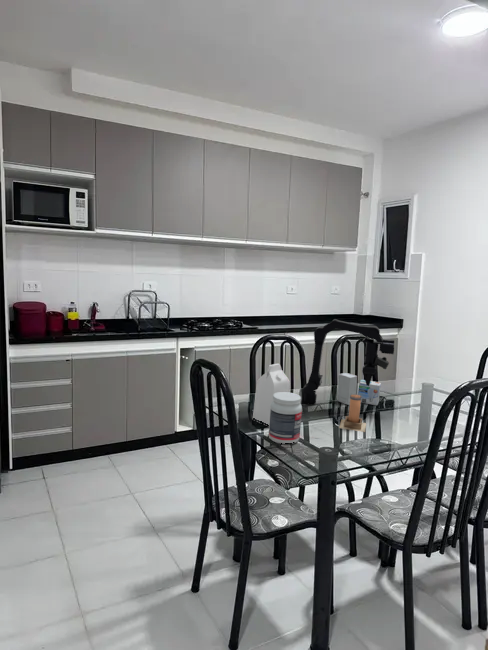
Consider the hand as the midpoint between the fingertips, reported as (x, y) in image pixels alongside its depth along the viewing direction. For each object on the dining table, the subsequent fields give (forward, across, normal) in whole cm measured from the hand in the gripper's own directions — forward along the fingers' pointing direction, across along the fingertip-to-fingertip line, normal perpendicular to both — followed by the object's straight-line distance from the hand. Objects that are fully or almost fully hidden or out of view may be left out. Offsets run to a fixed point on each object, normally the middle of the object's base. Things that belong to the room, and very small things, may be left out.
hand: (368, 383), depth 224 cm
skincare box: (+15, +10, +10) cm, 21 cm away
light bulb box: (+15, +16, 0) cm, 22 cm away
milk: (+15, -32, +40) cm, 54 cm away
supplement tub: (+15, -50, +30) cm, 60 cm away
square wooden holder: (+15, -26, +4) cm, 30 cm away
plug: (+13, -26, +4) cm, 29 cm away
